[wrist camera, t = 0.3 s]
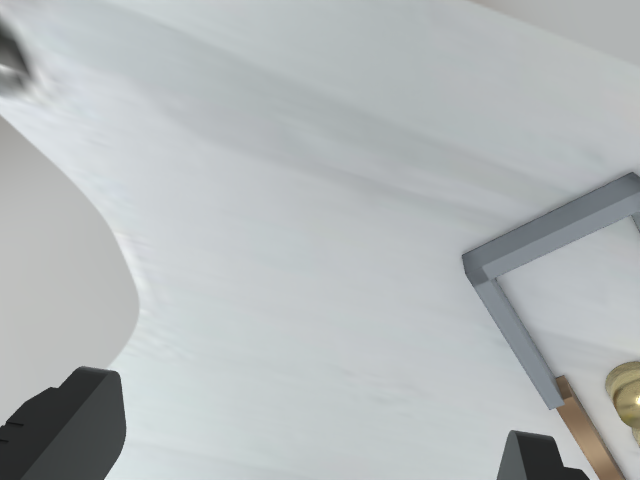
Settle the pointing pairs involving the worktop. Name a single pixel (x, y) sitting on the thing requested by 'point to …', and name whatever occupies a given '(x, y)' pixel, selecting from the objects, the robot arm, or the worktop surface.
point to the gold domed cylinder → (626, 392)
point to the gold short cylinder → (636, 435)
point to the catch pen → (533, 243)
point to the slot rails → (586, 434)
